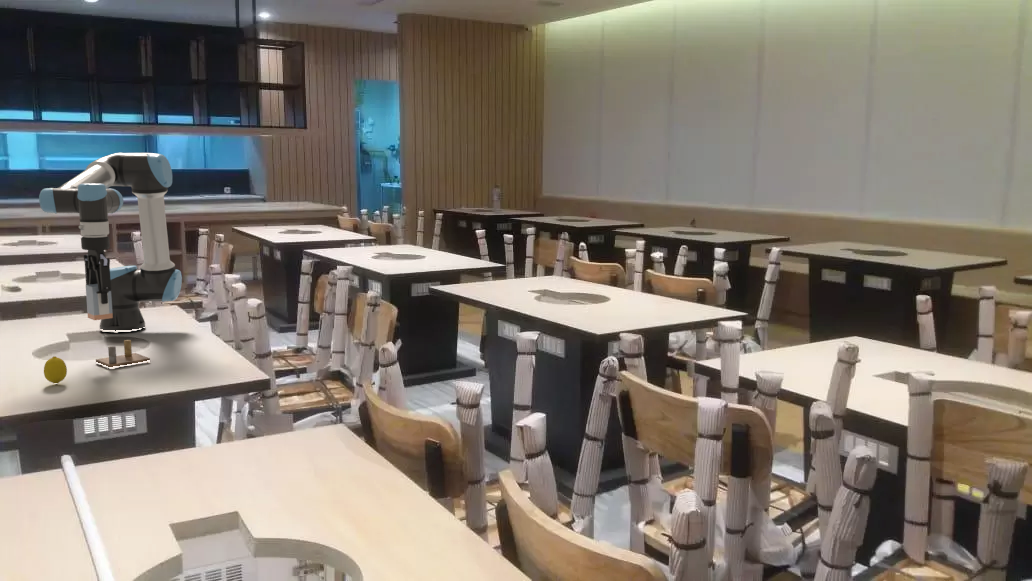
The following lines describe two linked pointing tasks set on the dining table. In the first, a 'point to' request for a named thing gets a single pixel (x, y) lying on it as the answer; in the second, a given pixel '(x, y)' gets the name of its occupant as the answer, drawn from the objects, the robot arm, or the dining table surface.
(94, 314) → the sleeve
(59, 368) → the lemon
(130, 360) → the pin board
